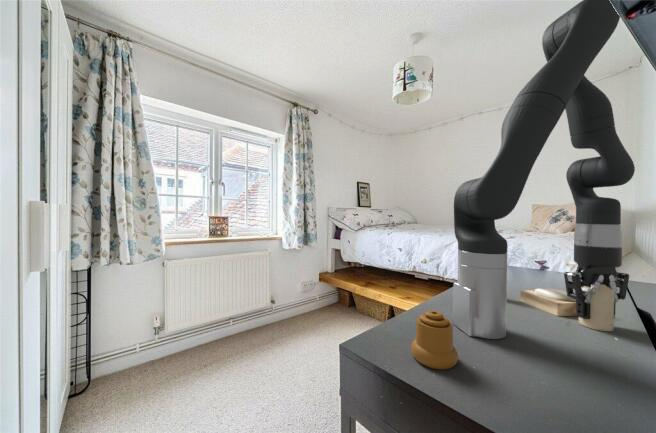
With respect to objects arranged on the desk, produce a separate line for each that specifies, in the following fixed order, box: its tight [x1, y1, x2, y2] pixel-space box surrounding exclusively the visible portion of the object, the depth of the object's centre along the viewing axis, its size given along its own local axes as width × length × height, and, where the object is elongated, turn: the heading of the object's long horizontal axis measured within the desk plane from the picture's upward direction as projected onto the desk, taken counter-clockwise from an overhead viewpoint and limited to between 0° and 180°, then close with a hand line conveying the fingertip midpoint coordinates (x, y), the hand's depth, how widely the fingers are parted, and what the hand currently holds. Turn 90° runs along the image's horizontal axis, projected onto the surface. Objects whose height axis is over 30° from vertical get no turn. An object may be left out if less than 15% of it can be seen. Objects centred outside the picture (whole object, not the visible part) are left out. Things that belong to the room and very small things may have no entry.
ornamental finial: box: [410, 309, 459, 370], centre depth 44 cm, size 8×8×8 cm
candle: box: [578, 284, 615, 332], centre depth 58 cm, size 6×6×10 cm
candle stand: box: [519, 287, 578, 317], centre depth 70 cm, size 11×11×4 cm
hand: (595, 317), depth 58 cm, fingers closed on candle, 5 cm apart
